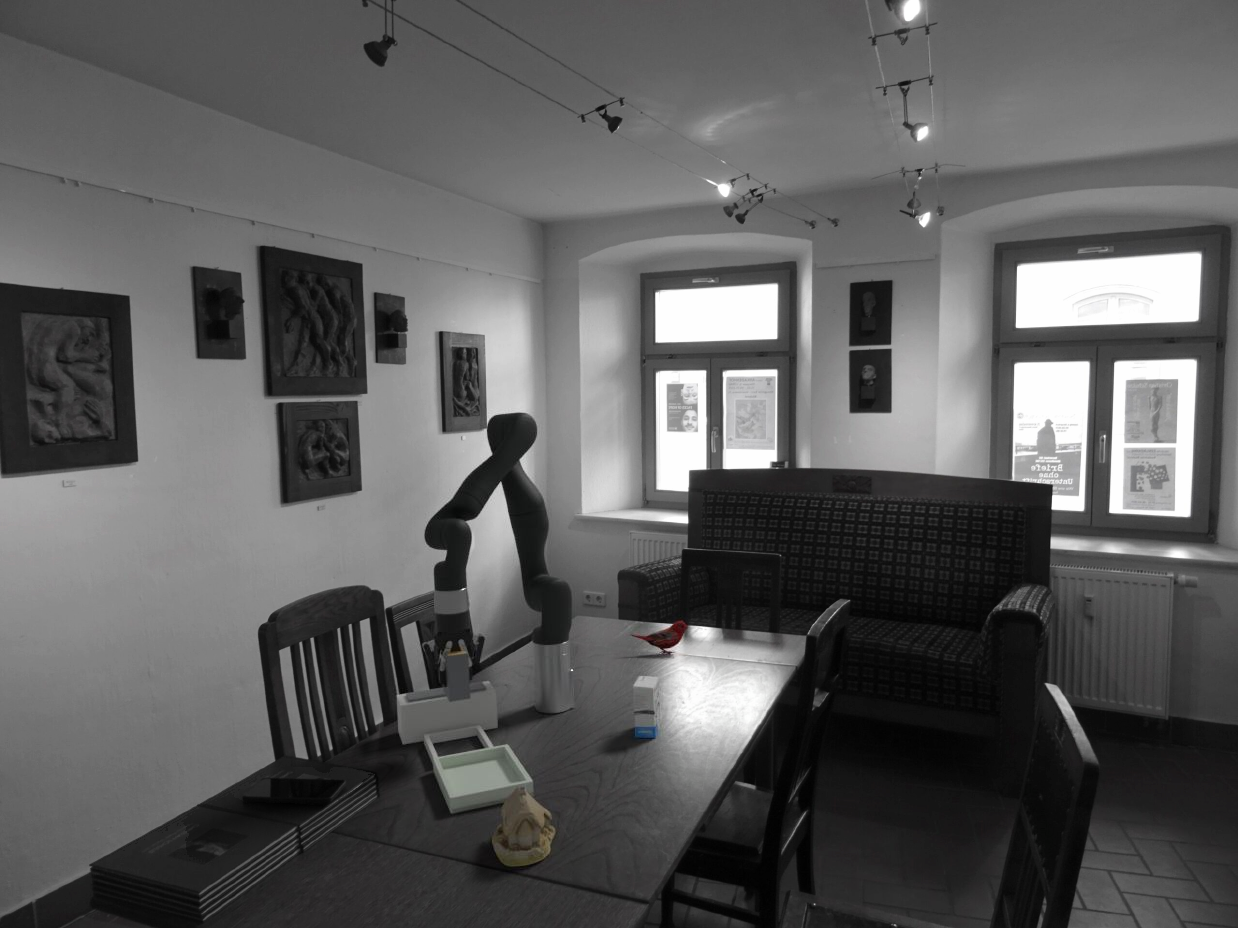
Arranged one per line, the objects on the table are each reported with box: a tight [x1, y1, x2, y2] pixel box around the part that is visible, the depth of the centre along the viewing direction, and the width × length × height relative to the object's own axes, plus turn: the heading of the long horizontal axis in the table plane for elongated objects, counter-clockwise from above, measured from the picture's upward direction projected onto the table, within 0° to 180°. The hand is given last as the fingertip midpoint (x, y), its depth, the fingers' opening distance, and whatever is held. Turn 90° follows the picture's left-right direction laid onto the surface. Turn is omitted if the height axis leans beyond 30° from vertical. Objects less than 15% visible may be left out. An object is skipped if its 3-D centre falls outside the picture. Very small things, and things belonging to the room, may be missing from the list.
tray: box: [432, 743, 535, 814], centre depth 167 cm, size 16×20×3 cm
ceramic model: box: [491, 786, 556, 868], centre depth 142 cm, size 14×11×10 cm
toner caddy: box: [442, 650, 471, 702], centre depth 183 cm, size 4×8×10 cm, turn 22°
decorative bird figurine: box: [630, 620, 689, 655], centre depth 251 cm, size 3×18×10 cm, turn 89°
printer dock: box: [396, 680, 499, 764], centre depth 188 cm, size 22×24×10 cm
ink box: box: [632, 675, 661, 739], centre depth 191 cm, size 9×5×12 cm, turn 168°
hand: (455, 683), depth 183 cm, fingers closed on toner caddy, 4 cm apart
